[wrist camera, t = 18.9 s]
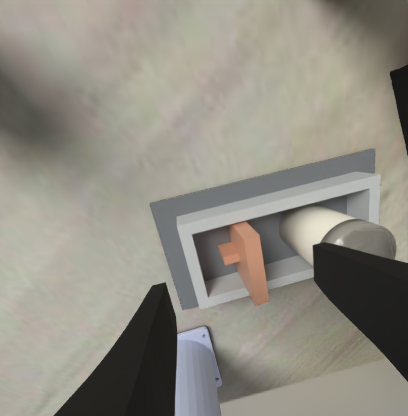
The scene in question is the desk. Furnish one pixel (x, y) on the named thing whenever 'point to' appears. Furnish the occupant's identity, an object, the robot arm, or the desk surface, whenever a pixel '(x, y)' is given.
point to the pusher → (247, 259)
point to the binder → (401, 97)
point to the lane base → (257, 223)
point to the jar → (332, 232)
